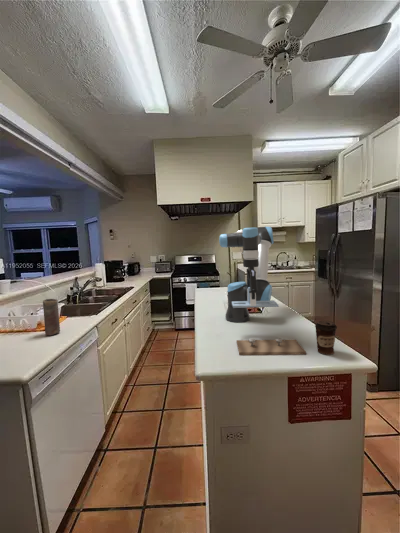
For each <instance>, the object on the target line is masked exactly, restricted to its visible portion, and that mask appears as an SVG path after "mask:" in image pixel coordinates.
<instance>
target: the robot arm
mask: <svg viewBox="0 0 400 533" xmlns="http://www.w3.org/2000/svg"><path fill="white" fill-rule="evenodd" d="M273 233H274V231H273V228H272V227H271V226H255V227H244V228H243V229H240V230H237V231H236V232H231V233H221V234H220V235H219V236H218V238H219V239H218V240H219V246H220V247H221V248H242V252H241V254H242V258H243V260H242V264H243V268H246V281H236V282H230V283H229V284H228V285H227V291H226V292H227V310H226V312H225V315H224V316H225V320H226V321H228V322H231V323H244V322H247V321H250V320H251V319H250V317H251V316H250V313H249V310H248V307H247V308H233V306H232V301H248V287H250V291H249V293H250V306H256V301H271V298H272V293H273V292H272V291H273V285H272V284H271V283H270V281H269V280H268V275H269V274H268V272H269V254H270V253H269V251H270V250H269V249H270V248H271V246H272V245H273V244H274V243H275V242H274V234H273ZM253 289H254V290H253Z"/></svg>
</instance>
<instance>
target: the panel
mask: <svg viewBox="0 0 400 533" xmlns="http://www.w3.org/2000/svg"><path fill="white" fill-rule="evenodd" d="M253 290H254V289H253ZM249 291H250V287H248V301H232V306H233V308H247V309H248V308H279V306H280V305H279V304H278V303H277V302H276V301H275V300H271V299H270V301H256V306H250V293H249Z"/></svg>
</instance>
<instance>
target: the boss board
mask: <svg viewBox="0 0 400 533" xmlns="http://www.w3.org/2000/svg"><path fill="white" fill-rule="evenodd" d="M236 346H237V350H238V354H239V356H269V355H271V356H272V355H273V356H275V355H276V356H278V355H280V356H281V355H283V356H284V355H285V356H286V355H288V356H289V355H293V356H294V355H306V354H307V352H306V350H305V349H304V348H303V346H302V345H301V344H300V343H299V342H298V340H297V339H282V338H276V339H255V338H249V339H248V340H247V339H244V340H243V339H241V340H240V339H238V340H236Z"/></svg>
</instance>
